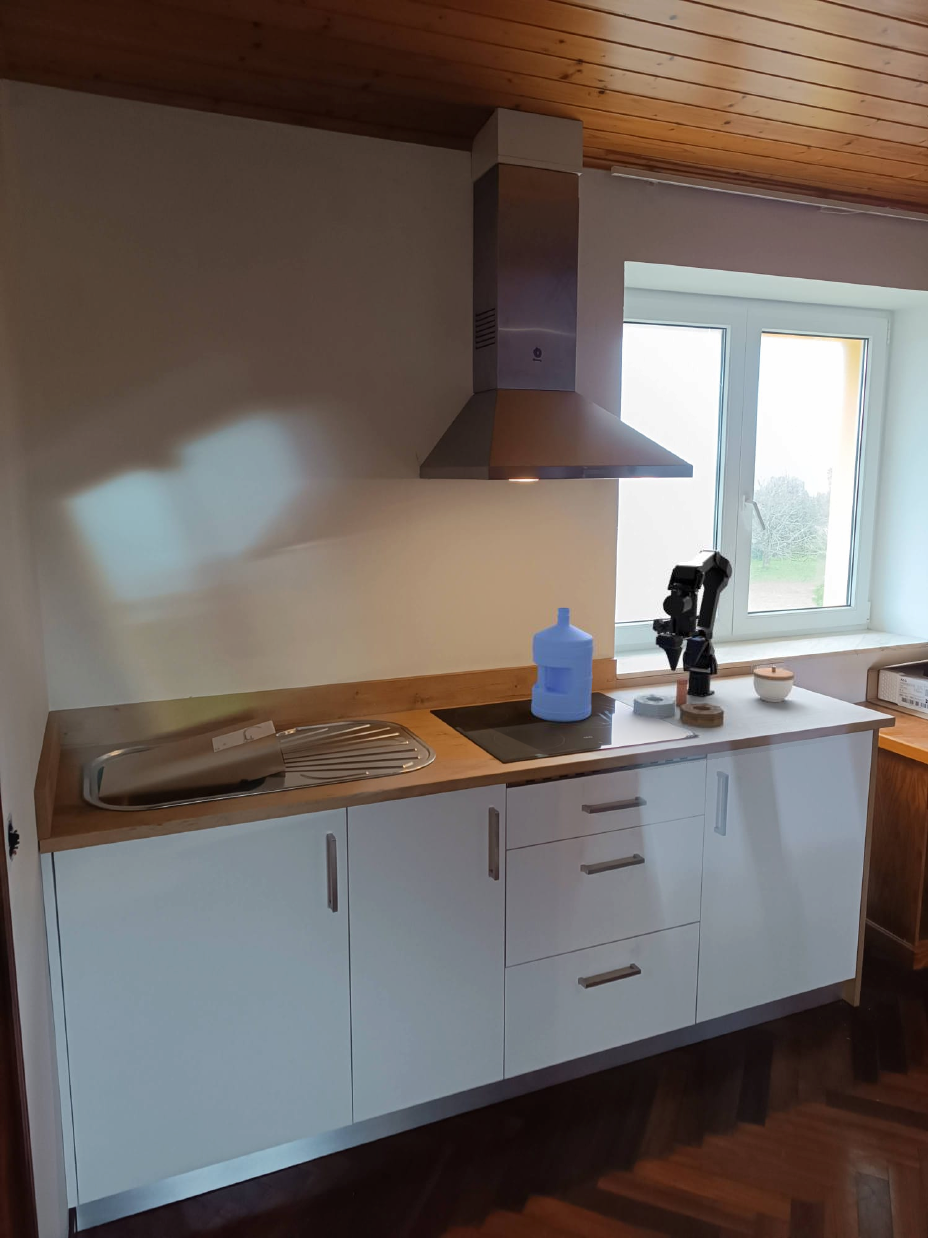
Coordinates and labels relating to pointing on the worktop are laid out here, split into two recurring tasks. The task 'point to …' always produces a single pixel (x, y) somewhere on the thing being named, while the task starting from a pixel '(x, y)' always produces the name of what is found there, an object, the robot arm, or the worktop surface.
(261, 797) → the worktop surface
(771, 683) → the lidded jar
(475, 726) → the worktop surface
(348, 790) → the worktop surface
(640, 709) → the blue bead
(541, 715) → the water jug
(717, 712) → the walnut bead
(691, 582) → the robot arm
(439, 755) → the worktop surface
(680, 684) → the pink rounded cylinder
